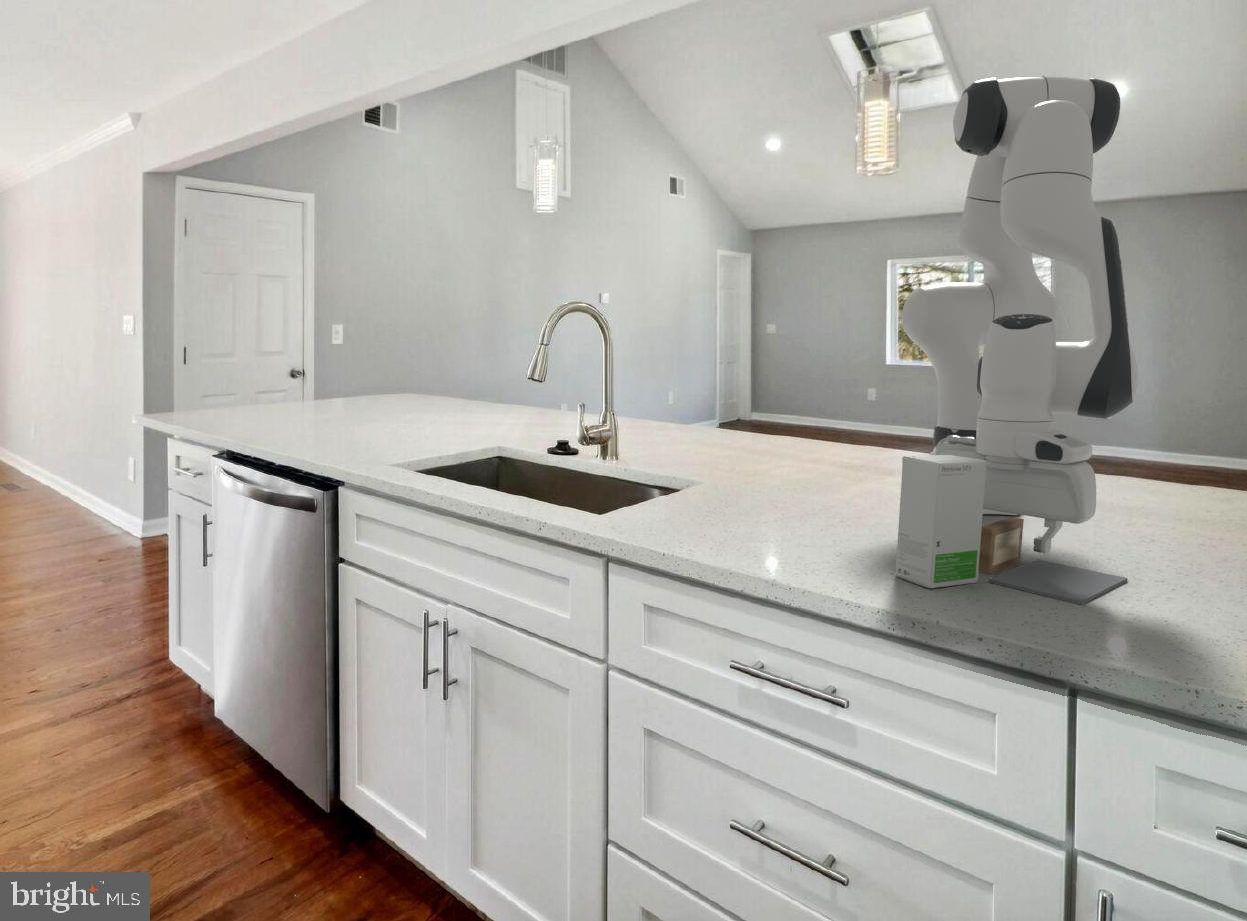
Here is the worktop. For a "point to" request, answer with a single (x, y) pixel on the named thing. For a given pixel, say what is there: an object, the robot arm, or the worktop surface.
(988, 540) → the walnut slab
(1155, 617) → the worktop surface
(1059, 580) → the slate mat
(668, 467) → the worktop surface
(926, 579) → the skincare box
